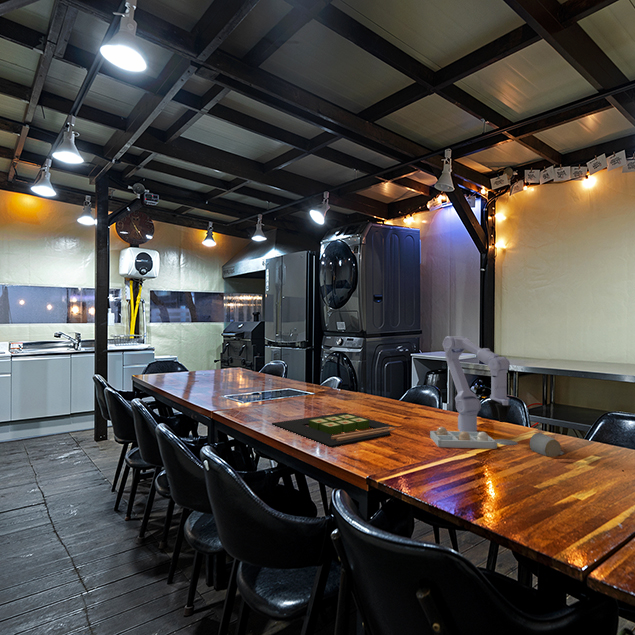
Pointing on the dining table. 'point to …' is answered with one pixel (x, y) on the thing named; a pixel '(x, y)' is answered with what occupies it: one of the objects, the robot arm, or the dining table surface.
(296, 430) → the sushi set
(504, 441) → the grey round disc
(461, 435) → the brown egg
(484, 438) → the cream egg
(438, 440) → the egg carton
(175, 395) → the dining table surface
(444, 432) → the brown egg
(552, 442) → the ceramic mug
